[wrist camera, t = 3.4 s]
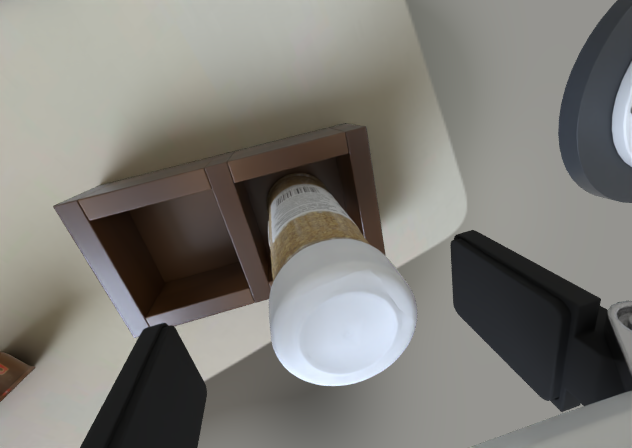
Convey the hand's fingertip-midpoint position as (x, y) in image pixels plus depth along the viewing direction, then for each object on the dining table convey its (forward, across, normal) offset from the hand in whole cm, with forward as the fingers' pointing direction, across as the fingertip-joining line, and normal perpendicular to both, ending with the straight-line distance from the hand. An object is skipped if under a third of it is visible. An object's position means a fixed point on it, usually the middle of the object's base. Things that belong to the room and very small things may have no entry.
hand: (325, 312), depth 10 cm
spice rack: (+13, +3, 0) cm, 13 cm away
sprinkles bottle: (+12, -1, 0) cm, 12 cm away
